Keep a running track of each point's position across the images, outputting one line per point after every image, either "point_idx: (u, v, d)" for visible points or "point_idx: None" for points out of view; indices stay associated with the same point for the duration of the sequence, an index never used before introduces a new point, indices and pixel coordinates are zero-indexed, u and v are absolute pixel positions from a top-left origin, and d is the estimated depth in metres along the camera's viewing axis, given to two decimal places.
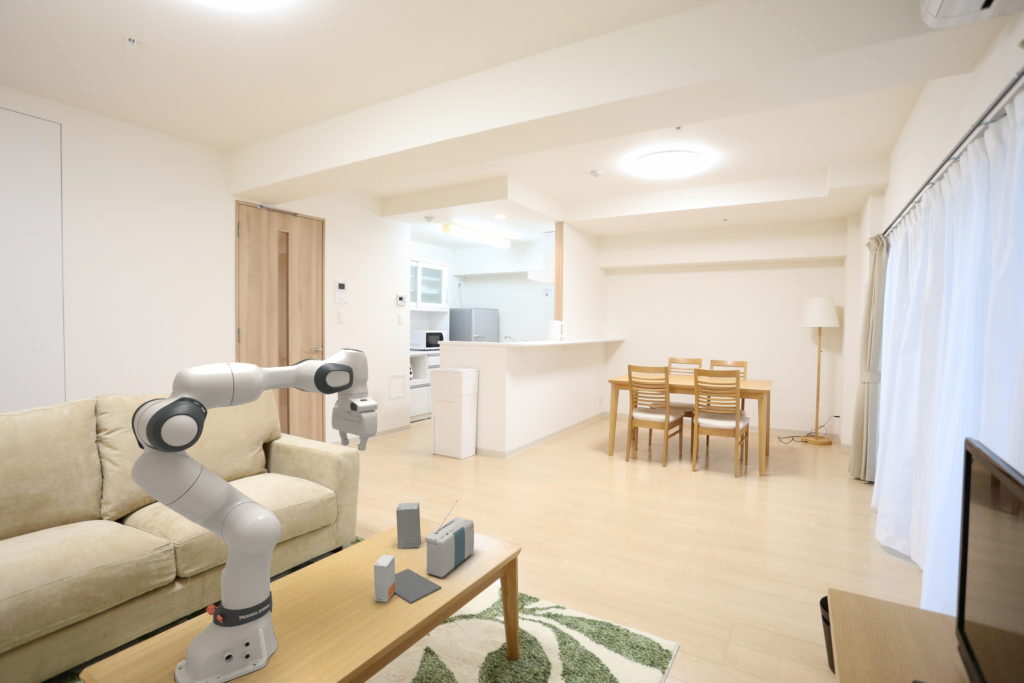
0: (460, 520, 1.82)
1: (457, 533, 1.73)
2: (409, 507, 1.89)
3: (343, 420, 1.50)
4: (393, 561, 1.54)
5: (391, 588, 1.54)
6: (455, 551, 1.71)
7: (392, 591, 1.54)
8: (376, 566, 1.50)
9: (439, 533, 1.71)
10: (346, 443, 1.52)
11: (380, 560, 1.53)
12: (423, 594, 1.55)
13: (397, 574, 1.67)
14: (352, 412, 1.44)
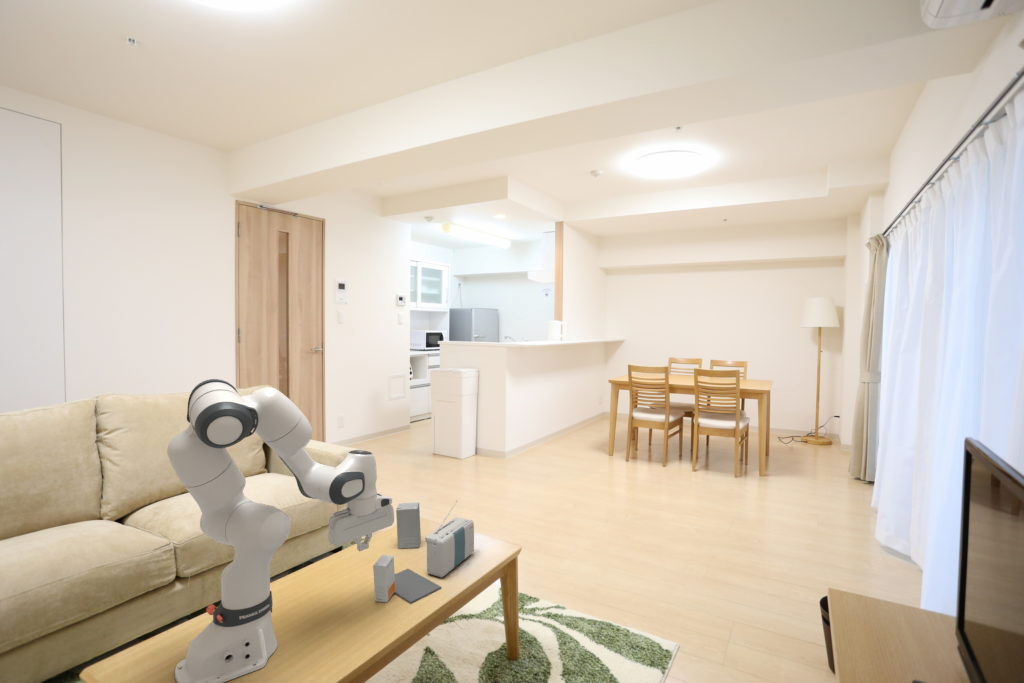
0: (460, 520, 1.82)
1: (457, 533, 1.73)
2: (409, 507, 1.89)
3: (357, 526, 1.45)
4: (392, 561, 1.54)
5: (391, 588, 1.54)
6: (455, 551, 1.71)
7: (391, 591, 1.54)
8: (375, 566, 1.50)
9: (439, 533, 1.71)
10: None
11: (379, 560, 1.53)
12: (423, 594, 1.55)
13: (397, 574, 1.67)
14: (380, 509, 1.49)
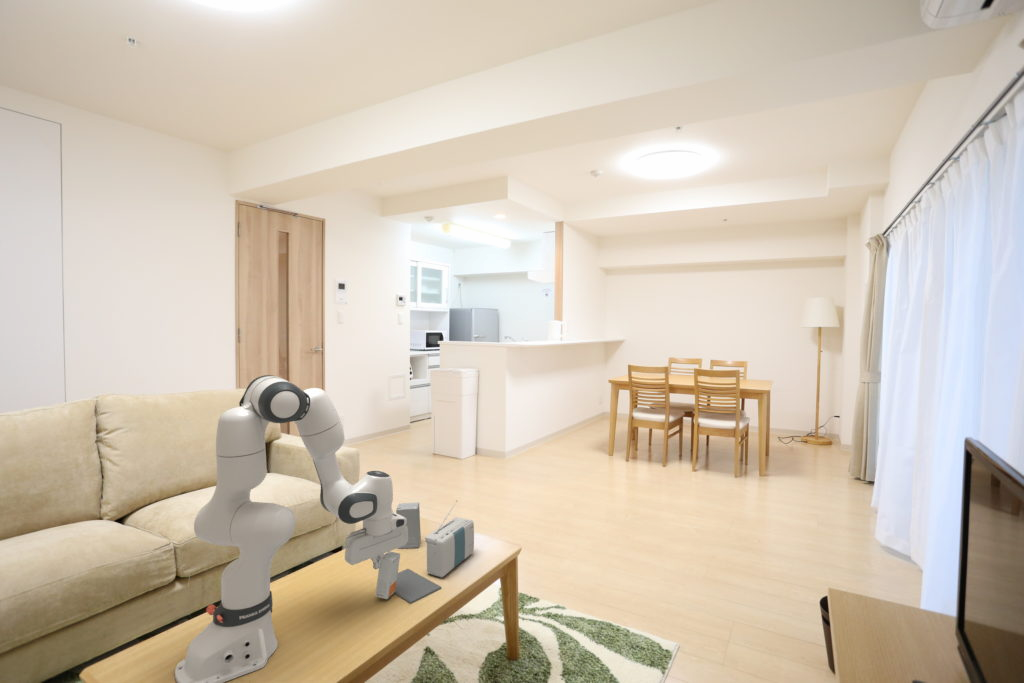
0: (460, 520, 1.82)
1: (457, 533, 1.73)
2: (409, 507, 1.89)
3: (373, 546, 1.48)
4: (398, 558, 1.56)
5: (393, 586, 1.54)
6: (455, 551, 1.71)
7: (392, 589, 1.54)
8: (382, 559, 1.52)
9: (439, 533, 1.71)
10: None
11: (386, 554, 1.55)
12: (423, 594, 1.55)
13: None
14: (395, 529, 1.53)
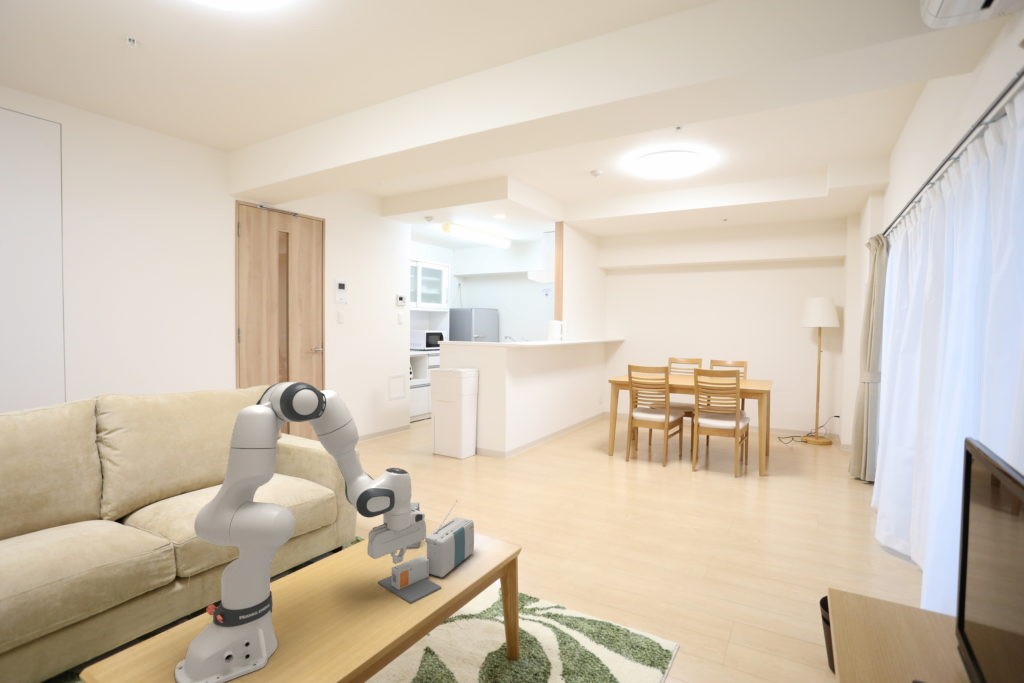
0: (460, 520, 1.82)
1: (457, 533, 1.73)
2: None
3: (394, 540, 1.54)
4: (425, 575, 1.65)
5: (405, 578, 1.59)
6: (455, 551, 1.71)
7: (402, 580, 1.58)
8: (422, 556, 1.67)
9: (439, 533, 1.71)
10: None
11: None
12: (423, 594, 1.55)
13: None
14: (414, 524, 1.59)
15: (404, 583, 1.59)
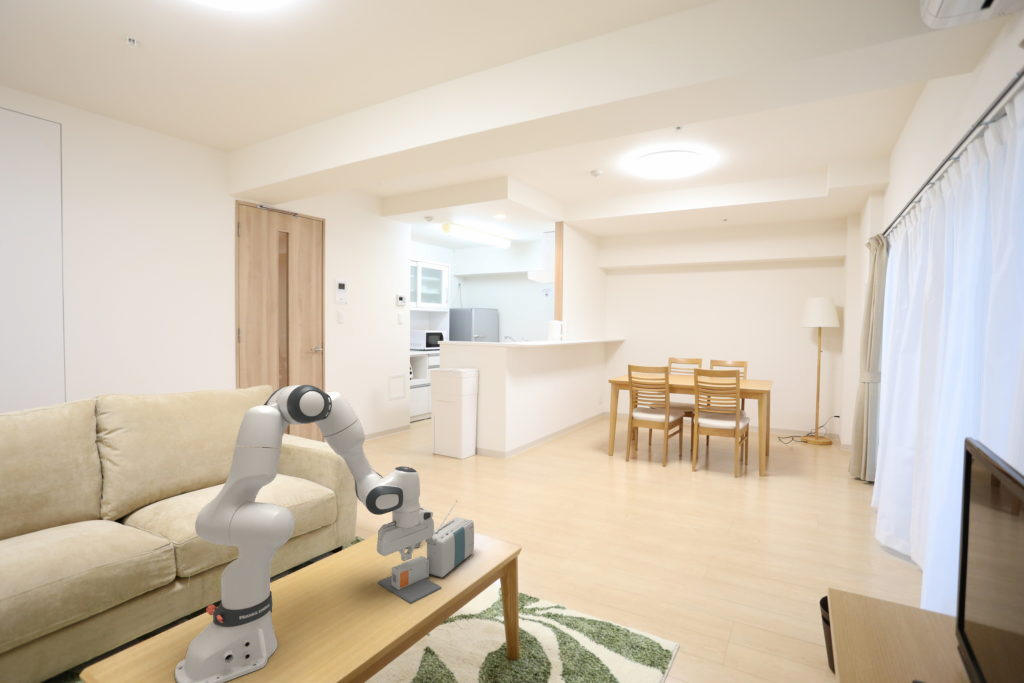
0: (460, 520, 1.82)
1: (457, 533, 1.73)
2: None
3: (403, 538, 1.57)
4: (425, 575, 1.65)
5: (405, 578, 1.59)
6: (455, 551, 1.71)
7: (402, 580, 1.58)
8: (422, 556, 1.67)
9: (439, 533, 1.71)
10: None
11: None
12: (423, 594, 1.55)
13: None
14: (422, 522, 1.61)
15: (404, 583, 1.59)
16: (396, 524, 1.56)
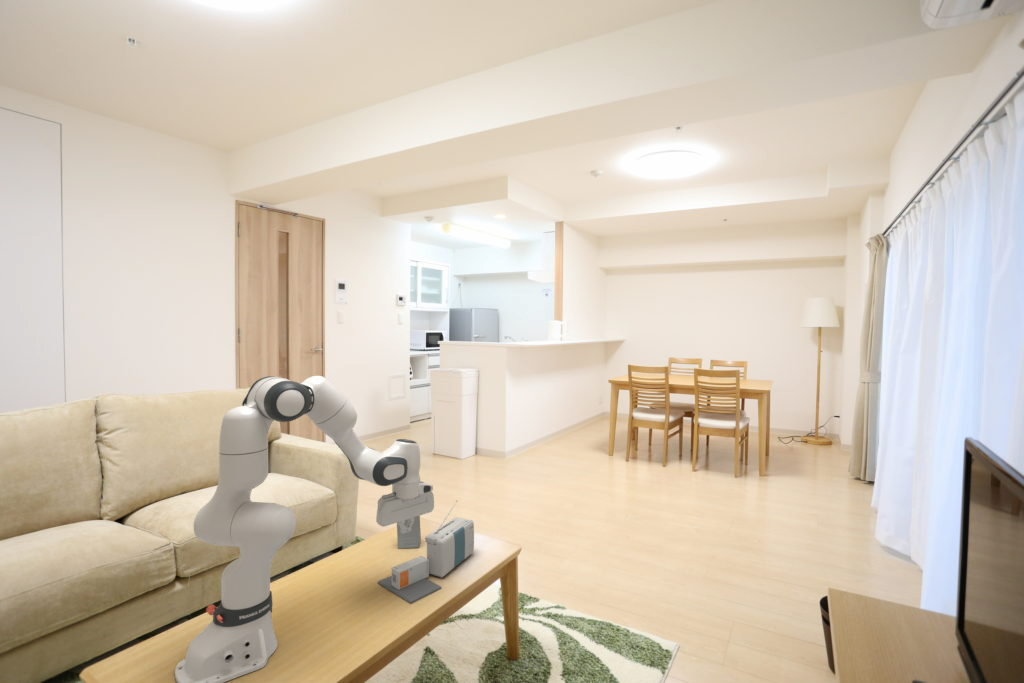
0: (460, 520, 1.82)
1: (457, 533, 1.73)
2: None
3: (402, 510, 1.56)
4: (425, 575, 1.65)
5: (405, 578, 1.59)
6: (455, 551, 1.71)
7: (402, 580, 1.58)
8: (422, 556, 1.67)
9: (439, 533, 1.71)
10: None
11: None
12: (423, 594, 1.55)
13: None
14: (422, 495, 1.61)
15: (404, 583, 1.59)
16: (396, 495, 1.56)
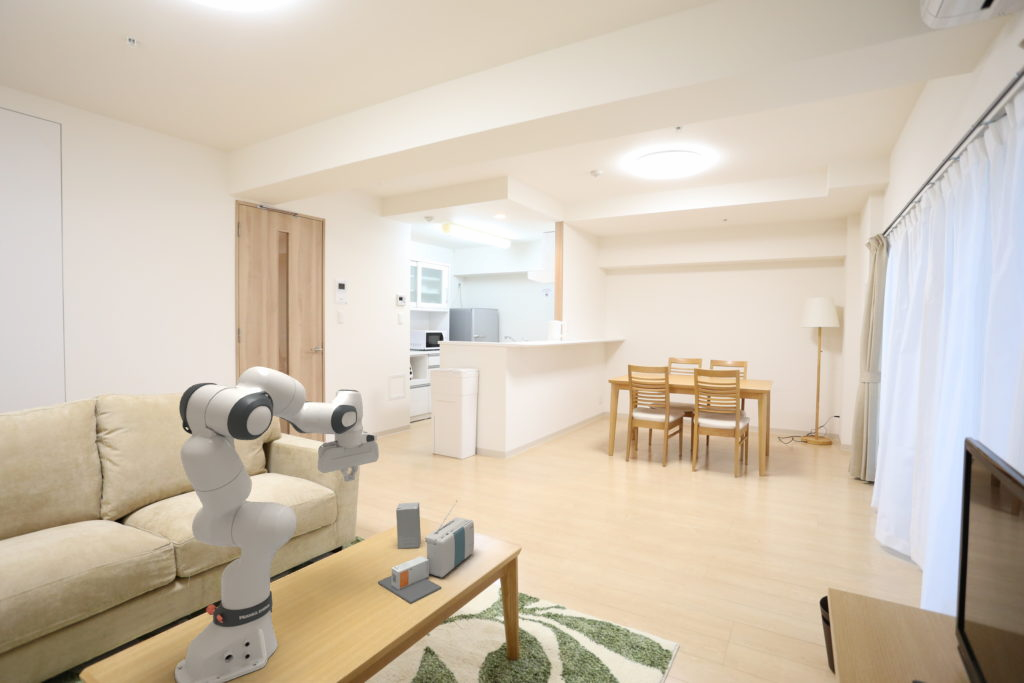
0: (460, 520, 1.82)
1: (457, 533, 1.73)
2: (409, 507, 1.88)
3: (344, 458, 1.59)
4: (425, 575, 1.65)
5: (405, 578, 1.59)
6: (455, 551, 1.71)
7: (402, 580, 1.58)
8: (422, 556, 1.67)
9: (439, 533, 1.71)
10: None
11: None
12: (423, 594, 1.55)
13: None
14: (365, 444, 1.63)
15: (404, 583, 1.59)
16: (337, 443, 1.58)
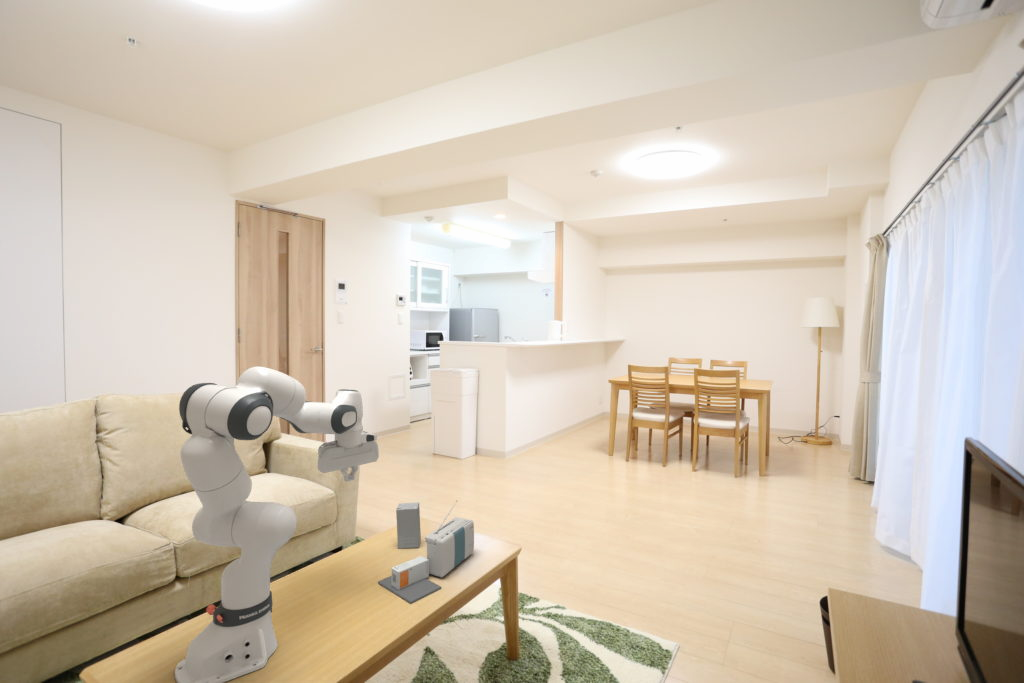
0: (460, 520, 1.82)
1: (457, 533, 1.73)
2: (409, 507, 1.89)
3: (344, 457, 1.58)
4: (425, 575, 1.65)
5: (405, 578, 1.59)
6: (455, 551, 1.71)
7: (402, 580, 1.58)
8: (422, 556, 1.67)
9: (439, 533, 1.71)
10: None
11: None
12: (423, 594, 1.55)
13: None
14: (365, 444, 1.63)
15: (404, 583, 1.59)
16: (337, 443, 1.58)
